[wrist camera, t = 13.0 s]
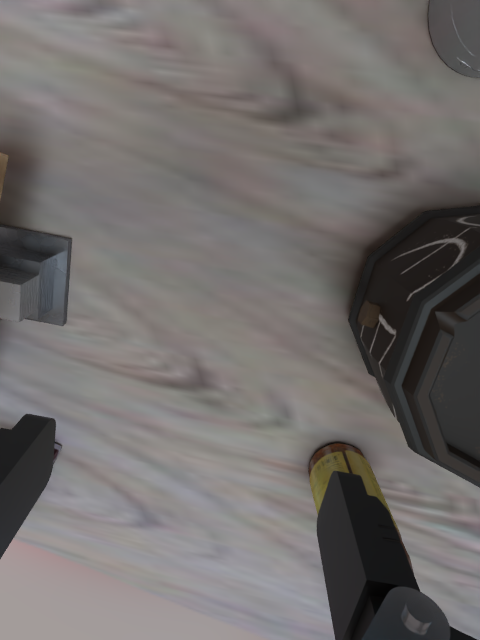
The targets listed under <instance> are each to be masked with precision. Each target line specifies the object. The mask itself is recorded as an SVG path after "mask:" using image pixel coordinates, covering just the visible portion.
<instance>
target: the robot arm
mask: <svg viewBox="0 0 480 640" xmlns="http://www.w3.org/2000/svg"><path fill="white" fill-rule="evenodd" d="M428 19H429V31H430V35H431V38H432V42H433V45H434V47H435V49H436V51H437V53H438V54H439V56H440V57H441V58H442V60H443V61H444V62H445V63H446V64H447V65H448V66H449V67H451V68H452V69H454V70H455V71H457V72H458V73H461V74H464V75H466V76H469V77H478V78H480V0H430V4H429V12H428ZM55 429H56V422H55V419H54V418H48V417H43V416H37V415H32V414H26V415H24V416H23V417H22V419H21V420H20V421H19V422H18V423H17V424H16V425H15V426H14V428H13V429H12V430H9V429H3V428H1V429H0V559H1V557H2V555H3V554H4V552H5V551H6V549H7V547H8V546H9V544H10V543H11V541H12V539H13V538H14V536H15V535H16V533H17V532H18V530H19V528H20V527H21V525H22V524H23V522H24V520H25V519H26V517H27V516H28V514H29V512H30V511H31V509H32V508H33V506H34V504H35V503H36V501H37V500H38V498H39V496H40V495H41V493H42V492H43V490H44V488H45V487H46V485H47V483H48V481H49V478H50V475H51V472H52V468H53V460H54V445H55ZM317 537H318V542H319V548H320V554H321V560H322V565H323V571H324V577H325V583H326V588H327V594H328V600H329V606H330V611H331V617H332V623H333V629H334V634H335V640H477V639H475V638H473V637H471V636H468V635H466V634H464V633H462V632H460V631H458V630H456V629H454V628H452V627H451V626H449V623H448V620H447V618H446V616H445V615H444V613H443V612H442V610H441V609H440V608H439V606H438V605H437V604H436V603H435V602H434V601H433V600H432V599H430V598H429V597H428V596H426V595H425V594H423V593H422V592H420V590H419V587H418V584H417V582H416V579H415V577H414V574H413V572H412V569H411V566H410V564H409V561H408V559H407V556H406V554H405V551H404V548H403V546H402V544H401V543H400V538H399V536H398V533H397V530H395V525H394V523H393V520H392V518H391V515H390V512H389V511H388V510H387V508H386V507H385V506H384V505H383V504H382V502H381V501H380V500H379V499H378V498H377V497H376V496H371V495H368V494H367V491H366V488H365V485H364V482H363V480H362V477H361V476H360V475H357V474H352V473H346V472H340V471H333V472H332V474H331V476H330V479H329V482H328V485H327V488H326V491H325V494H324V497H323V500H322V503H321V506H320V509H319V513H318V518H317Z"/></svg>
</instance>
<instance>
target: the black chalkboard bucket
mask: <svg viewBox="0 0 480 640" xmlns="http://www.w3.org/2000/svg"><path fill="white" fill-rule="evenodd" d="M348 320H349V323H350V326H351V328H352V331H353V334H354V336H355V339H356V341H357V344H358V347H359V349H360V352H361V355H362V357H363V360H364V362H365V365H366V368H367V370H368V373H369V374H370V375H372V376H374V377H375V378H376V380H377V383H378V386H379V388H380V391H381V393H382V395H383V397H384V399H385V401H386V403H387V404H388V406H389V408H390V410H391V412H392V413H393V415H394V417H395V418H396V419H397V420H398V422H399V423H400V425H401V428H402V430H403V433H404V436H405V439H406V441H407V444H408V447H409V448H410V449H412V450H413V451H414V452H415V453H417V454H419V455H421V456H423V457H425V458H426V459H428V460H430V461H432V462H434V463H436V464H437V465H439V466H441V467H443V468H445V469H447V470H449V471H450V472H452V473H454V474H456V475H458V476H460V477H461V478H463V479H465V480H467V481H469V482H471V483H472V484H474V485H476V486H478V487H480V206H473V207H463V208H453V209H443V210H432V211H425V212H423V213H422V214H421V215H420V216H418V217H417V218H416V219H415V220H413V221H412V222H411V223H410V224H408V225H407V226H406V227H405V228H403V229H402V230H401V231H400V232H398V233H397V234H396V235H395V236H393V237H392V238H391V239H390V240H388V241H387V242H386V243H385V244H383V245H382V246H381V247H380V248H378V249H377V250H376V251H375V252H373V253H372V254H371V255H370V256H368V259H367V262H366V265H365V268H364V271H363V274H362V277H361V280H360V284H359V287H358V290H357V293H356V296H355V299H354V302H353V305H352V308H351V312H350V315H349V319H348Z"/></svg>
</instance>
